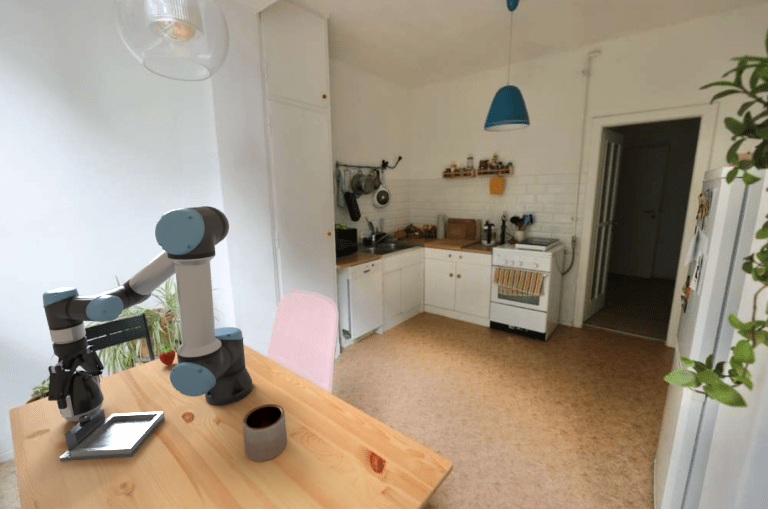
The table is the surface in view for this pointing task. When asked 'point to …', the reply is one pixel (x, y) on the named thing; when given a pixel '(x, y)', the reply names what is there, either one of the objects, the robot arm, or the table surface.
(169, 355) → the fruit
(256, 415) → the planter
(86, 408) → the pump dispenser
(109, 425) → the tray unit
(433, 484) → the table surface
